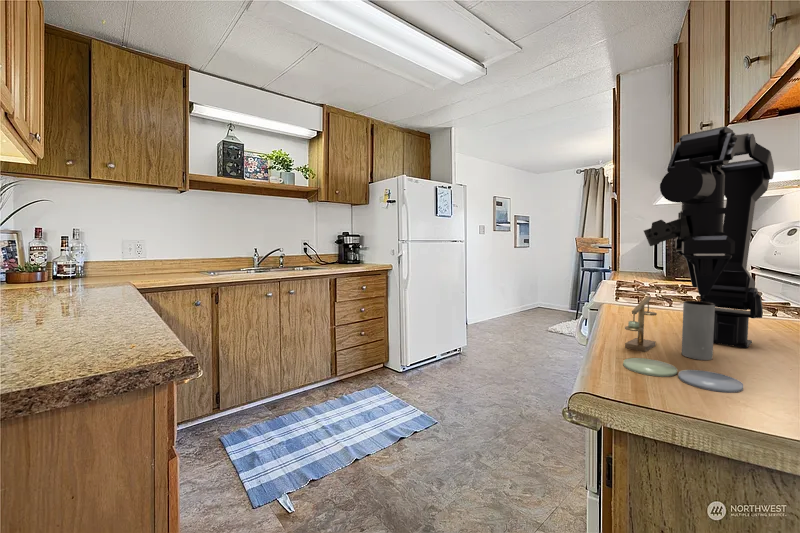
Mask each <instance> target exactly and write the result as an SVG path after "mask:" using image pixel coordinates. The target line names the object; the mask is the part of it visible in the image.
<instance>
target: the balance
mask: <svg viewBox="0 0 800 533" xmlns="http://www.w3.org/2000/svg"><path fill="white" fill-rule="evenodd" d="M651 297H652V296H649V295H647V296H646V297H644V298H643V299H642V300H641V301H640V302H639V303H638V304H637V305H636V306H635V308H633V309H632V310H631V314H633V316H632V320H629V321H627V322H628V325H625V326H624V330H626V331H630V332H637V337H635V338H633V339H630V340H629V341H626V342H624V349H628V348H629V350H633V351H638V352H639V351H640V352H643V353H645V352H648V351H649V350H651V349H653V348H654V347H656V341H655V340H652V339H651V340H649V339H646V338H645V339H644V333H645V332H644V331H645V328H644V327H645V316H657V315H658V313H657V312H654V311H650V301H651V300H652V299H651ZM646 305H647V310H646V311H645V306H646ZM636 315H638V317H637V321H635V320H636Z"/></svg>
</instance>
